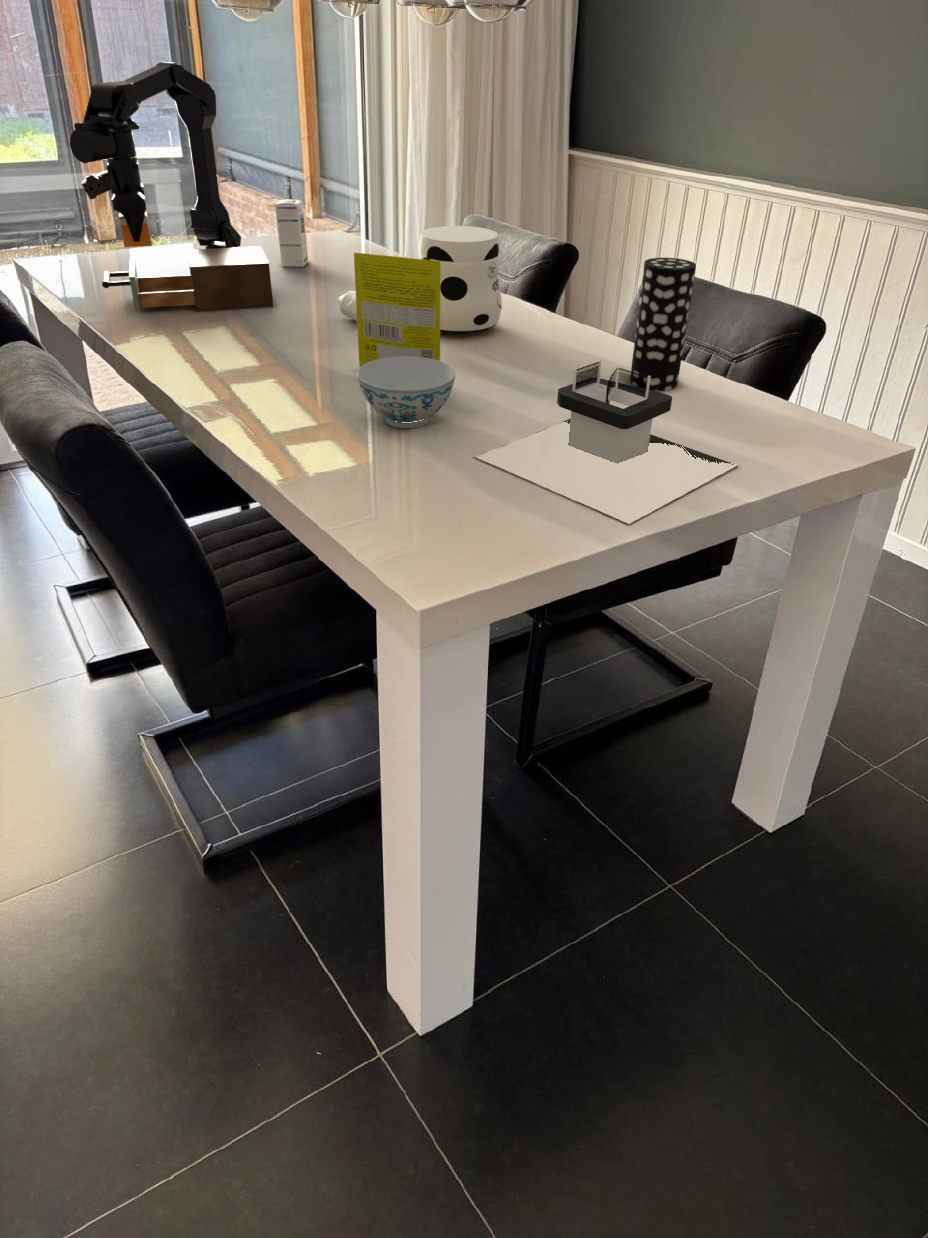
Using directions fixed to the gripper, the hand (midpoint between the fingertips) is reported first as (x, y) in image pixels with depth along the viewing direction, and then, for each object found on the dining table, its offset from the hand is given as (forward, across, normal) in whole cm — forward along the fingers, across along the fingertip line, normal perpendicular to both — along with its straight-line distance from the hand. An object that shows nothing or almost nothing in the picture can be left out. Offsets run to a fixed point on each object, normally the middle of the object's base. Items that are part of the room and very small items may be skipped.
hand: (136, 239), depth 188 cm
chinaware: (+12, +81, +38) cm, 90 cm away
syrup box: (+13, -26, +36) cm, 46 cm away
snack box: (+1, 0, 0) cm, 1 cm away
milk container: (+13, +36, +60) cm, 71 cm away
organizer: (+12, +4, +18) cm, 22 cm away
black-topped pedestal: (+12, +104, +61) cm, 121 cm away
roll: (+13, +26, +41) cm, 50 cm away
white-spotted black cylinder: (+13, +76, +84) cm, 113 cm away
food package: (+12, +61, +41) cm, 75 cm away
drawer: (+11, +3, +3) cm, 12 cm away
